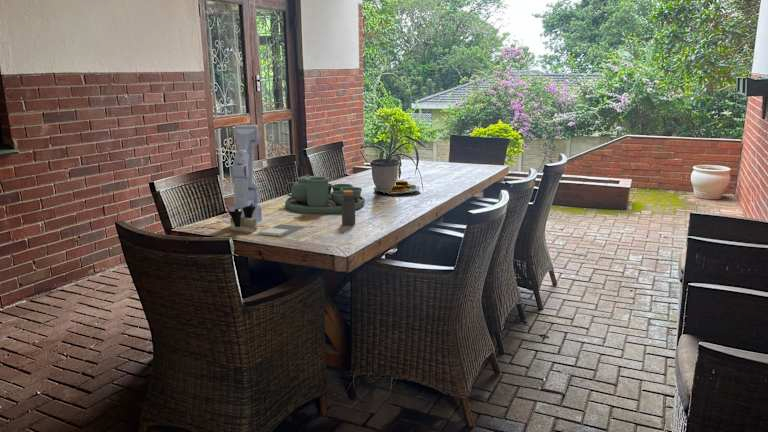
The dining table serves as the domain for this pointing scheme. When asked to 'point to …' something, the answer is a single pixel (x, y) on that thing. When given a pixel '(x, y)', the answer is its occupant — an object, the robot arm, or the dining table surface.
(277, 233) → the tile
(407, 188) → the food on plate
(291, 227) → the mat
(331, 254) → the dining table surface
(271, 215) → the dining table surface
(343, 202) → the bottle
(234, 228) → the beige rectangular block
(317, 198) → the tea set
